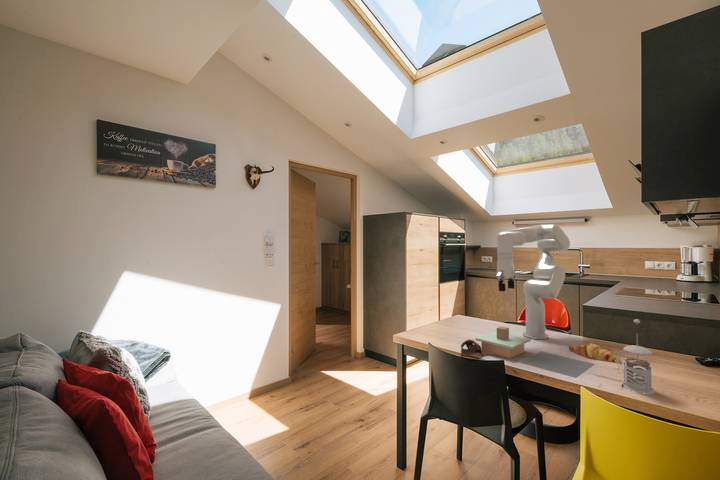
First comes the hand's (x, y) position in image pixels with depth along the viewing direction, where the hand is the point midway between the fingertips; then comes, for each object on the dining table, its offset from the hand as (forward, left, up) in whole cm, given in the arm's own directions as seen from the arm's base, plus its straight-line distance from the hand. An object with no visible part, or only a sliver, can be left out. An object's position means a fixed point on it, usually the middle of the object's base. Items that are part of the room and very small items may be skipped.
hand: (506, 289), depth 175 cm
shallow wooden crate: (+14, +5, -28) cm, 32 cm away
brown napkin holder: (+27, -4, -29) cm, 40 cm away
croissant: (-10, +35, -29) cm, 47 cm away
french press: (+14, +55, -29) cm, 63 cm away
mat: (+12, +28, -28) cm, 42 cm away
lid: (+14, +5, -22) cm, 27 cm away
